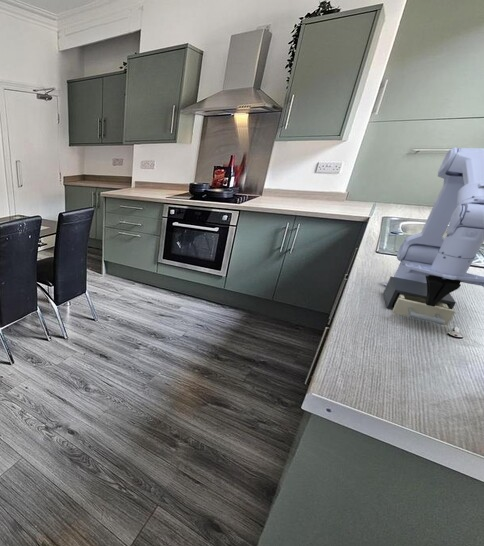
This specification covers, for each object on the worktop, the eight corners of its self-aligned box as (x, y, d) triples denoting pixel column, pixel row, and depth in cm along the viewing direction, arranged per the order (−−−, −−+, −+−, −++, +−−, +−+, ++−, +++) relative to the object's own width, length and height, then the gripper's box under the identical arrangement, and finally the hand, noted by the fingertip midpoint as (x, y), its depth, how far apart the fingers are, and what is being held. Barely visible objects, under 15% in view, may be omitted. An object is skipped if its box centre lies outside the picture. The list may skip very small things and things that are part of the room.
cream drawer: (452, 334, 76) (461, 320, 75) (394, 320, 82) (401, 306, 81) (438, 309, 88) (445, 295, 87) (388, 298, 94) (394, 285, 93)
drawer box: (444, 322, 83) (456, 302, 81) (386, 308, 90) (395, 289, 88) (435, 305, 92) (445, 286, 90) (382, 293, 99) (390, 276, 97)
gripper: (415, 252, 75) (392, 301, 81) (510, 266, 67) (477, 320, 72) (411, 245, 80) (389, 292, 86) (498, 258, 72) (469, 308, 77)
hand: (429, 304), depth 79 cm, fingers closed
